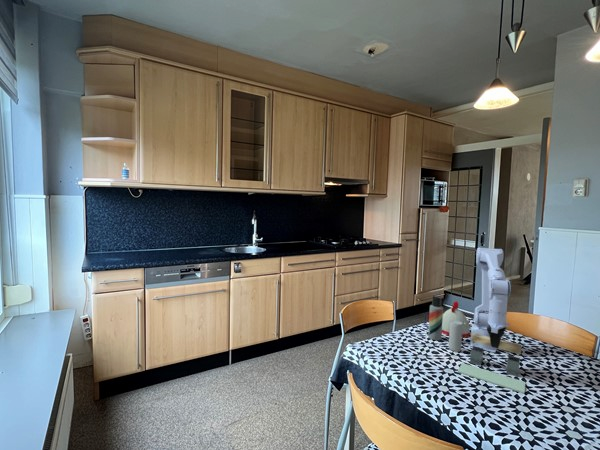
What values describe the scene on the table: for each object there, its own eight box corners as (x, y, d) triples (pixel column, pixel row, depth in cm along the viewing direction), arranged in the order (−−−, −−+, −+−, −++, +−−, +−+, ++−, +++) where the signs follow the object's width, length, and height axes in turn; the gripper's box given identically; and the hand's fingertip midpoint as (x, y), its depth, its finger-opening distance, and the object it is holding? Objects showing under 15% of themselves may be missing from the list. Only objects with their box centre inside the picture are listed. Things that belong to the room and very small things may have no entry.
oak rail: (471, 341, 122) (471, 335, 122) (472, 339, 124) (472, 333, 124) (520, 354, 112) (521, 347, 112) (521, 351, 114) (521, 344, 114)
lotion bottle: (425, 335, 147) (428, 294, 146) (437, 335, 147) (439, 294, 146) (432, 340, 141) (434, 297, 140) (443, 340, 142) (446, 298, 140)
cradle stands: (469, 362, 121) (470, 349, 121) (472, 358, 125) (472, 345, 125) (518, 377, 112) (519, 363, 111) (518, 371, 116) (519, 358, 115)
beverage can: (462, 353, 130) (464, 325, 129) (450, 351, 131) (451, 323, 130) (459, 348, 134) (460, 321, 134) (447, 346, 135) (448, 320, 135)
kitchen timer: (472, 332, 153) (474, 302, 152) (464, 340, 143) (466, 308, 142) (443, 324, 163) (445, 296, 162) (434, 331, 153) (435, 301, 152)
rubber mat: (457, 372, 114) (457, 371, 114) (462, 364, 120) (462, 362, 120) (524, 393, 101) (524, 392, 101) (525, 383, 108) (525, 382, 108)
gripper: (508, 318, 109) (506, 355, 110) (511, 308, 121) (509, 342, 121) (485, 313, 113) (483, 349, 114) (490, 304, 125) (488, 337, 126)
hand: (495, 345), depth 118 cm, fingers closed on oak rail, 3 cm apart
